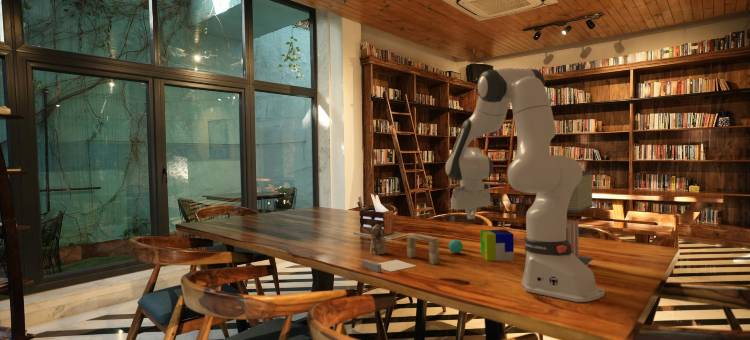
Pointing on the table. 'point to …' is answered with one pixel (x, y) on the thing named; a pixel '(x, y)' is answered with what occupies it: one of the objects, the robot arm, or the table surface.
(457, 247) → the ball
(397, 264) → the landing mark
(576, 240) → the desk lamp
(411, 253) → the bridge
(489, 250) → the puzzle toy
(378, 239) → the figurine
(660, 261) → the table surface
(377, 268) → the stopper strip
